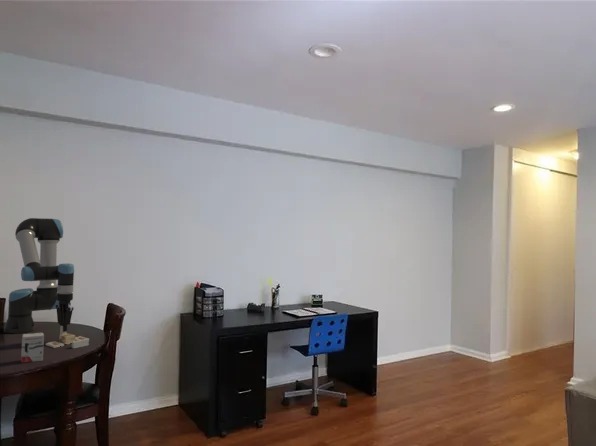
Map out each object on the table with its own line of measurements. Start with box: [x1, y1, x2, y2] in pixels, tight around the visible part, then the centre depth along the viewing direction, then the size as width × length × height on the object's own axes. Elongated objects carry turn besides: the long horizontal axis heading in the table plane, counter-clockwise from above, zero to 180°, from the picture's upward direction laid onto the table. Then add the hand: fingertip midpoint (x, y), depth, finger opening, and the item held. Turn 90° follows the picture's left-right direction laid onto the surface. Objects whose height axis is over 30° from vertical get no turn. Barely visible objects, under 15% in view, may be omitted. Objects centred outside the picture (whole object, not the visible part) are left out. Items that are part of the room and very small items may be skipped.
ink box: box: [20, 332, 45, 363], centre depth 206 cm, size 8×5×12 cm, turn 123°
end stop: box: [71, 338, 90, 349], centre depth 231 cm, size 2×8×3 cm, turn 148°
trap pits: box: [45, 335, 89, 349], centre depth 237 cm, size 8×19×1 cm, turn 148°
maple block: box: [58, 332, 76, 345], centre depth 237 cm, size 6×5×4 cm
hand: (63, 337), depth 239 cm, fingers closed
